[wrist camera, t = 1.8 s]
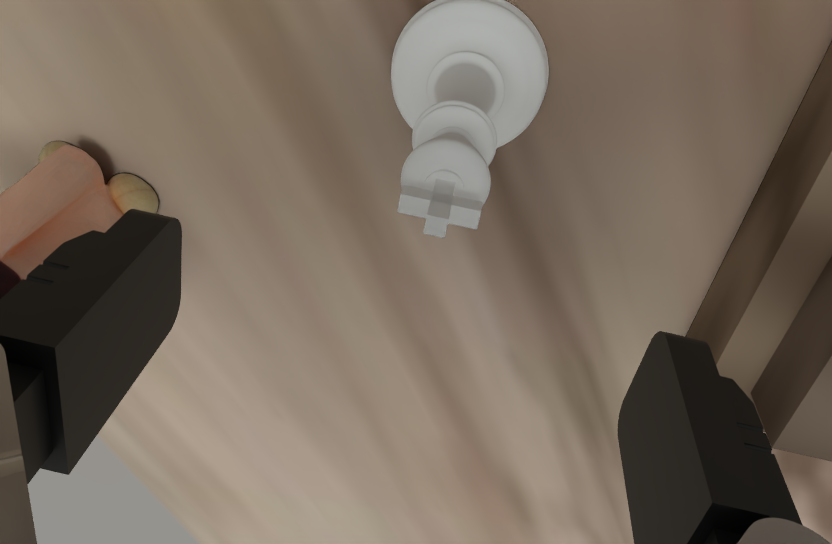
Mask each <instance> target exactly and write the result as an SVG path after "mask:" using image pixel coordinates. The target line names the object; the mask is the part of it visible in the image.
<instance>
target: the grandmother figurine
mask: <svg viewBox="0 0 832 544" xmlns="http://www.w3.org/2000/svg"><path fill="white" fill-rule="evenodd" d="M158 204H159V202H158V198H157V195H156V193H155V192H154V190H153V189H152V188H151V187H150V186H149V185H148V184H147V183H146V182H144V181H143V180H142V179H140V178H138V177H137V176H134V175H131V174H124V173H122V174H117V175H115V176H113V177H112V178H111V179H110V180H109V181H108V183H107V185H105V184H104V178H103V174H102V171H101V168H100V166H99V165H98V163H97V162H96V161H95V160H94V159H93V158H92V157H90V156H89V155H88V154H87V153H86V152H85V151H83V150H81V149H79V148H77V147H75V146H72V145H70V144H68V143H65V142H61V141H54V142H50V143H48V144H47V145H45V146H44V148H43V149H42V151H41V153H40V155H39V164H38V165H37V166H36V167H35V168H34V169H32V170H31V171H30V172H29V173H28V174H27V175H25V176H24V177H23V178H22V179H21V180H20V181H19V182H17V183H16V184H14V185H13V186H11V187H10V188H8V189H6V190H5V191H4V192H2V193H1V194H0V299H1V298H2V297H3V296H4V295H5V294H7V293H8V292H9V291H10V290H11V289H12V288H13V287H14V286H16V285H17V284H18V283H19V282H20V281H21V280H22V279H25V280H26V278H27V275H28V274H29V273H30V272H31V271H32V270H33V269H35V268H36V267H37V266H38V265H39V264H41V265H42V264H43V260H45V259H46V258H47V257H48V256H49V255H50V254H51V253H52V252H53V251H55V250H56V249H57V248H58V247H59V246H60V245H61V244H62V243H64V242H66V241H69V240H71V239H73V238H76V237H78V236H80V235H83V234H85V233H87V232H90V231H92V230H95V231H99V232H103V233H105V232H106V231H107V230H108V229H109V228H110V227H111V226H112V225H113V224H114V223H115V222H117V221H118V220H119V219H120V218H121V217H122V216H123V215H124V214H125V213H126V212H127V211H128V210H130V209H137V210H141V211H146V212H150V213H155V214H156V212H157V210H158Z"/></svg>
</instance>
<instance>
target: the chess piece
mask: <svg viewBox="0 0 832 544" xmlns="http://www.w3.org/2000/svg"><path fill="white" fill-rule="evenodd" d="M548 77H549V64H548V56H547V52H546V48H545V45H544V42H543V40H542V38H541V36H540V34H539V32H538V30H537V29H536V27H535V26H534V24H533V23H532V22H531V20H530V19H529V18H528V17H527V16H526V15H525V14H524V13H523V12H522V11H521V10H519V9H518V8H517V7H515V6H514V5H512V4H511V3H509V2H507V1H505V0H435V1H433V2H431V3H429V4H428V5H426V6H425V7H423V8H422V9H421V10H420V11H418V12H417V13H416V14H415V15H414V16H413V17H412V18H411V19H410V20H409V22H408V23H407V24H406V26H405V27H404V29H403V30H402V32H401V34H400V36H399V38H398V40H397V42H396V45H395V48H394V52H393V57H392V64H391V85H392V91H393V96H394V99H395V102H396V105H397V107H398V109H399V111H400V113H401V115H402V117H403V118H404V120H405V121H406V122H407V124H408V125H409V126H410V127H411V128H412V129H413V133H412V146H413V151H412V152H411V153H410V155H409V156H408V157H407V159H406V161H405V163H404V165H403V168H402V171H401V188H402V191H401V194H400V200H399V205H398V211H397V212H398V213H402V214H407V215H412V216H416V217H421V218H426V222H425V227H424V232H423V234H428V235H432V236H437V237H442V238H444V237H445V233H446V229H447V224H448V223H449V224H453V225H458V226H462V227H467V228H472V229H476V230H477V227H478V223H479V219H480V215H481V210H482V206H483V205H484V203H485V202H486V200H487V198H488V195H489V192H490V186H491V177H490V172H489V168H488V166H489V164H490V163H491V161H492V160H493V158H494V155H495V153H496V149H497V148H498V147H501V146H503V145H505V144H507V143H508V142H510V141H512V140H513V139H515V138H516V137H517V136H518V135H520V134H521V133H522V132H523V131H524V130H525V129H526V128H527V127H528V126H529V124H530V123H531V122H532V120H533V119H534V117H535V116H536V114H537V112H538V110H539V108H540V106H541V104H542V101H543V99H544V96H545V93H546V89H547V85H548Z"/></svg>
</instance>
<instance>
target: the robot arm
mask: <svg viewBox="0 0 832 544" xmlns="http://www.w3.org/2000/svg"><path fill="white" fill-rule="evenodd" d="M181 246H182V230H181V224H180V222H179V220H178V219H176V218H172V217H168V216H163V215H159V214H155V213H150V212H146V211H141V210H137V209H130V210H128V211H127V212H126V213H125V214H124V215H123V216H122V217H121V218H120V219H119V220H118V221H117V222H115V223H114V224H113V225H112V226H111V227H110V228H109V229H108V230H107V231H106V232H105V233H103V232H99V231H95V230H92V231H90V232H87V233H85V234H83V235H80V236H78V237H76V238H73V239H71V240H69V241H66V242H64V243H62V244H61V245H60V246H59V247H58V248H57V249H56V250H55V251H53V252H52V253H51V254H50V255H49V256H48V257H47V258H46V259H45V260H43V264H42V265H41V264H39V265H38V266H37V267H36V268H35V269H33V270H32V271H31V272H30V273H29V274H28V275H27V278H26V280H25V279H22V280H21V281H20V282H19V283H18V284H17V285H16V286H14V287H13V288H12V289H11V290H10V291H9V292H8V293H7V294H5V295H4V296H3V297H2V298H1V299H0V544H37V541H36V535H35V529H34V522H33V516H32V511H31V504H30V498H29V492H28V486H27V484H28V483H29V482H30V481H31V479H32V478H33V476H34V475H35V474H36V472H37V471H38V470H39V469H40V468H42V469H46V470H50V471H54V472H59V473H63V474H69V473H70V472H71V471H72V469H73V468H74V466H75V465H76V464H77V462H78V461H79V459H80V458H81V457H82V455H83V454H84V452H85V451H86V449H87V448H88V447H89V445H90V444H91V442H92V441H93V440H94V438H95V437H96V435H97V434H98V433H99V431H100V430H101V428H102V427H103V425H104V424H105V423H106V421H107V420H108V418H109V417H110V416H111V414H112V413H113V411H114V410H115V408H116V407H117V406H118V404H119V403H120V401H121V400H122V399H123V397H124V396H125V394H126V393H127V391H128V390H129V389H130V387H131V386H132V384H133V383H134V382H135V380H136V379H137V377H138V376H139V374H140V373H141V372H142V370H143V369H144V367H145V366H146V365H147V363H148V362H149V360H150V359H151V358H152V356H153V355H154V353H155V352H156V350H157V349H158V348H159V346H160V345H161V343H162V342H163V341H164V339H165V338H166V336H167V335H168V333H169V332H170V330H171V329H172V327H173V324H174V322H175V320H176V317H177V314H178V310H179V305H180V299H181ZM763 429H764V428H763V425H762V423H761V420H760V418H759V415H758V413H757V410H756V408H755V405H754V403H753V402H752V401H751V400H750V398H749V397H748V396H747V395H746V394H745V393H744V392H743V390H742V389H741V388H740V387H739V386H738V385H737V383H736V382H735V381H734V380H733V379H731V378H727V377H723V376H720V375H719V372H718V369H717V366H716V364H715V361H714V358H713V355H712V352H711V350H710V347H709V345H708V344H707V342H705V341H701V340H697V339H693V338H688V337H684V336H680V335H675V334H671V333H667V332H662V331H659V332H657V333H656V334H655V335H654V337H653V338H652V340H651V342H650V344H649V346H648V348H647V350H646V352H645V355H644V357H643V359H642V361H641V363H640V365H639V368H638V370H637V372H636V374H635V376H634V378H633V381H632V383H631V385H630V387H629V389H628V391H627V394H626V396H625V398H624V400H623V403H622V406H621V410H620V414H619V420H618V440H619V447H620V453H621V460H622V466H623V473H624V479H625V486H626V492H627V499H628V505H629V512H630V518H631V525H632V531H633V537H634V544H831V543H829V542H828V541H827V540H826V539H824V538H823V537H822V536H820V535H819V534H817V533H815V532H814V531H812V530H811V529H809V528H807V527H805V526H803V525H802V523H801V520H800V518H799V515H798V513H797V510H796V508H795V505H794V503H793V500H792V498H791V495H790V493H789V490H788V488H787V485H786V483H785V480H784V478H783V475H782V473H781V470H780V468H779V465H778V463H777V460H776V458H775V455H774V454H771V450H772V448H771V445H770V443H769V440H768V438H767V435H766V433H763Z"/></svg>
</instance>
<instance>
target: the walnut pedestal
mask: <svg viewBox="0 0 832 544" xmlns="http://www.w3.org/2000/svg"><path fill="white" fill-rule="evenodd" d="M686 337H688V338H693V339H697V340H701V341H705V342H707V344H708V345H709V347H710V350H711V352H712V355H713V358H714V361H715V364H716V366H717V369H718V372H719V375H720V376H723V377H727V378H731V379H733V380H734V381H735V382H736V383H737V385H738V386H739V387H740V388H741V389H742V390H743V392H744V393H745V394H746V395H747V396H748V397H749V398H750V400H751V401H752V402H753V403H754V405H755V408H756V410H757V413H758V415H759V418H760V420H761V423H762V425H763V428H764V429H763V432H766V434H767V437H768V440H769V442H770V445H771V447H772V448H774V449H779V450H783V451H788V452H792V453H797V454H801V455H805V456H810V457H814V458H819V459H823V460H828V461H832V42H831V44H830V47H829V49H828V51H827V53H826V55H825V57H824V59H823V61H822V63H821V65H820V67H819V69H818V71H817V73H816V75H815V77H814V79H813V81H812V83H811V85H810V87H809V89H808V91H807V93H806V95H805V97H804V99H803V101H802V103H801V105H800V107H799V109H798V111H797V113H796V115H795V117H794V119H793V121H792V123H791V125H790V127H789V129H788V131H787V133H786V135H785V137H784V139H783V141H782V143H781V145H780V148H779V150H778V152H777V154H776V156H775V158H774V160H773V162H772V164H771V166H770V168H769V170H768V172H767V174H766V176H765V178H764V180H763V182H762V184H761V186H760V188H759V190H758V192H757V194H756V196H755V198H754V200H753V202H752V204H751V206H750V208H749V210H748V212H747V214H746V216H745V218H744V220H743V222H742V224H741V226H740V228H739V230H738V232H737V234H736V236H735V238H734V240H733V242H732V244H731V247H730V249H729V251H728V253H727V255H726V257H725V259H724V261H723V263H722V265H721V267H720V269H719V271H718V273H717V275H716V277H715V279H714V281H713V283H712V285H711V287H710V289H709V291H708V293H707V295H706V297H705V299H704V301H703V303H702V305H701V307H700V309H699V311H698V313H697V315H696V317H695V319H694V321H693V323H692V325H691V327H690V329H689V331H688V333H687V335H686Z"/></svg>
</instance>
